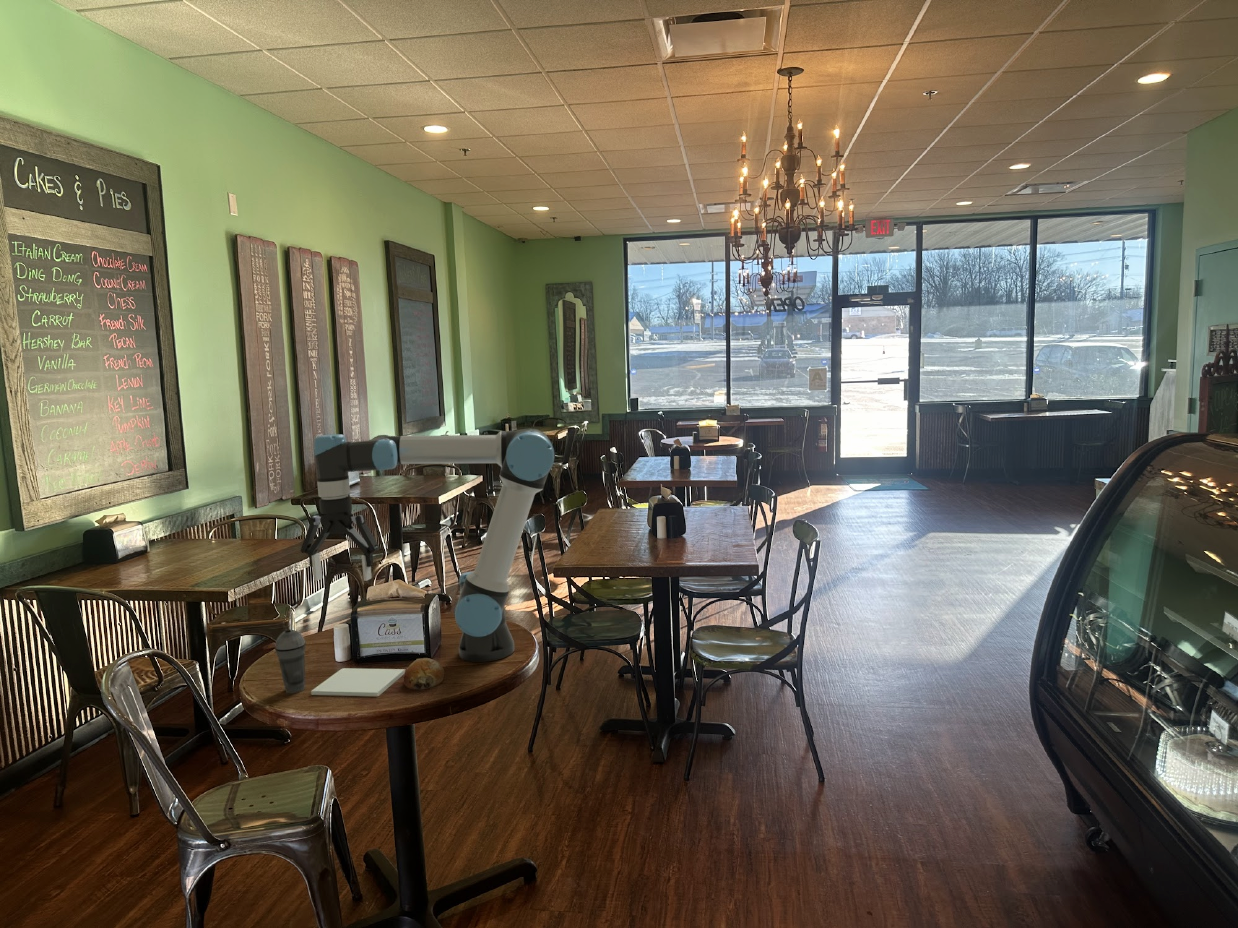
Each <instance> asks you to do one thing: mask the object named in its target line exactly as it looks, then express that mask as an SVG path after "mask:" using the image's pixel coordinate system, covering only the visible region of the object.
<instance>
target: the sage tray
mask: <svg viewBox="0 0 1238 928" xmlns="http://www.w3.org/2000/svg"><path fill="white" fill-rule="evenodd" d="M405 671H406V669H405V668H404V669H403V668H402V669H401V668H400V669H399V668H397V669H395V668H357V667H356V668H354V667H353V668H347V667H346V668H345V667H343V668H341V669H340V670H338V671H337V672H335V673H334V674H332V675H331V676H330V677H328V678H327V679H325V680H324V681H323V682H322V683H320V684H319V685H318V686H316V687H314V688H313V689H311V691H310V694H311V696H338V697H339V696H343V697H345V696H346V697H348V696H349V697H379V696H380V695H382V694H383V693H384V692H385V691H387V689H389V687H391V686H392V685H393V684H394V683H396V682H397V681H398V680H399V679H400V678H401V677H402V676H404V673H405Z"/></svg>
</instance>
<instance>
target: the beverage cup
mask: <svg viewBox="0 0 1238 928" xmlns="http://www.w3.org/2000/svg"><path fill="white" fill-rule="evenodd" d="M293 615H294V614H293V612H291V613H290V618H289V619H290V622H289V624H290V628H289V629H287V630H285V631H282V632H281V633H280V634H279V635H278V637H277V638H276V641H275V644H274V645H275V647H274V650H275V652H276V656H277V658H278V663H279V666H280V671H281V675H282V676H281V677H282V681H283V685H284V688H285V692H286V693H287V694H296V693H300V692H302V691H304V690H305V688H306V666H305V665H306V664H305V662H306V660H305V652H306V644H307V643H306V641H305V637H303V635H302V634H301V633H300V632H299V631H298V630H295V629H293V620H294V619H293Z"/></svg>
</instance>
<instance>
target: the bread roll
mask: <svg viewBox="0 0 1238 928" xmlns="http://www.w3.org/2000/svg"><path fill="white" fill-rule="evenodd" d="M444 675H445V669H444V668H443V666H442V665H441V664H440V662H438V661H437V660H435V659H432V658H428V657H423V658H416V660H414V661H413V662H412V663H410V664H409V666H408V667H407V668H406V669H405V673H404V675H403V683H404V685H405V688H407V689H409V690H418V691H419V690H420V691H421V690H426V689H429V688H430V689H431V688H433V687H435V686H437V685H440V684H441V683H442V682H443V681H444Z"/></svg>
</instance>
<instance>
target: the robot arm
mask: <svg viewBox="0 0 1238 928" xmlns="http://www.w3.org/2000/svg"><path fill="white" fill-rule="evenodd" d="M313 449H314V453H313V457H314V462H315V471H316V479H317V482H316V483H317V491H318V492H317V493H318V495H317V496H318V497H319V500H318V501H319V502H318V504H319V512H320V514H321V516H319V515H313V516H310V517H309V520H308V521H309V525H308V529H307V532H306V534H305V537H304V539H303V542H302V545H301V548H300V553H302V554H307V556H308V561H309V567H310V568H312V572H313V573H312V574H313V581H314V582H318V581H320V580H322V579H323V571H322V570H323V569H322V561H321V553H319V549H320V548H321V546H322V545H323V543H324V542H325V541H326V539H327V538H328V537H329V535H335V534H338V535H343V534H344V535H345V536H348V537H349V539H351V541H352V542H353V543H354V544H355V546H357V547H358V549H360V551H361V552H362V553H363V554H362V555H361V565H362V574H363V581H364V582H365V581H366V582H367V581H369V580H371V579H372V578H373V577H372V566H374V557H373V553H375V552H377V551H379V550H380V546H379V544H378V542H377V539H376V538H375V537H374V535H373V533H372V531H371V530H370V528H369V526H368V525H367V523H366V518H365V515H364V514H359V515H356V516H355V515H353V513H352V510H353V507H352V497H351V496H350V494H351V487H350V486H351V485H350V476H349V473H352V472H353V473H354V472H368V471H369V472H370V471H371V472H372V471H380V472H382V471H385V470H386V471H387V470H393V469H395V468H396V467H397V466H398V465H424V464H425V465H428V464H430V465H431V464H432V465H433V464H437V465H439V464H442V465H445V464H446V465H447V464H448V465H449V464H452V465H453V464H457V465H458V464H497V465H498V466H499V467H500V468H501V469H500V473H499V475H498V476H499V478H500V480H501V483H502V485H501V488H500V492H499V495H498V498H497V501H496V504H495V507H494V510H493V511H492V512H493V513H492V516H491V519H490V523H489V526H488V529H487V531H486V535H485V538H484V541H483V542H482V547H481V550H480V552H479V556H478V558H477V562H476V565H475V568H474V570H473V571H467V572H463V573H461V574H460V575H459V581H458V584H459V589H460V591H459V593H460V594H459V597H458V601H457V604H456V605H455V607H454V618H455V622H456V625H457V627H459V629H460V630H461V631H462V634H461V637H460V641H459V646H458V653H459V654H458V655H459V658H460V659H461V660H463V661H467V662H471V663H472V662H474V663H484V662H485V663H486V662H487V663H488V662H492V661H498V660H501V659H504V658H506V657H509V656H511V655H512V654H513V653H514V652H515V641H514V639H513V636H512V634H511V632H510V629H509V627H508V625H507V618H506V602H507V599H508V596H509V593H510V590H511V588H510V585H509V584H508V582H507V580H508V578H509V575H510V571H511V568H512V565H513V562H514V559H515V556H516V553H517V550H518V547H519V544H520V541H521V537H522V535H523V532H524V528H525V526H526V523H527V519H528V518H529V517H528V516H529V514H530V510H531V508H532V505H533V502H534V498H535V495H536V494H537V493H539V492H541V491H543V490H544V487H545V483H546V481H547V478H548V475H549V472H550V471H551V469H552V468H553V465H554V463H555V449H554V446H553V444H552V441H551V439H550V438H549V437H548V435H547V434H546V433H544V432H543V431H541V430H539V429H536V428H531V427H530V428H524V429H517V430H516V429H515V430H500V431H499V432H498V433H497V434H478V435H477V434H475V435H474V434H473V435H472V434H471V435H468V434H467V435H465V434H463V435H462V434H459V435H456V434H455V435H454V434H453V435H388V434H380V435H379V434H378V435H376V436H374V437H372V438H371V439H369V440H361V441H347V439H346V437H345V435H344V434H340V433H339V434H335V433H334V434H323V435H318V436H316V437H315V438H314V440H313ZM353 523H354V524H355V525H356V526H357V529H358V531H359V532H358V531H357V529H356V527H355V526H354V525H353ZM320 524H321V525H322V526H323V528H322V529H321V530H320V532H319V534H318V536H317V537H316V535H317V530H318V528H319V525H320ZM315 537H316V539H315ZM314 539H315V540H314Z"/></svg>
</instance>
